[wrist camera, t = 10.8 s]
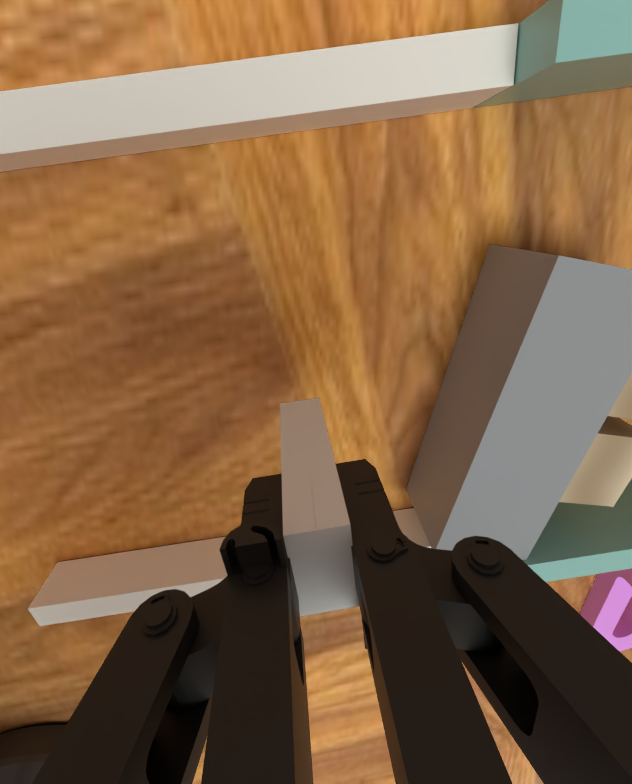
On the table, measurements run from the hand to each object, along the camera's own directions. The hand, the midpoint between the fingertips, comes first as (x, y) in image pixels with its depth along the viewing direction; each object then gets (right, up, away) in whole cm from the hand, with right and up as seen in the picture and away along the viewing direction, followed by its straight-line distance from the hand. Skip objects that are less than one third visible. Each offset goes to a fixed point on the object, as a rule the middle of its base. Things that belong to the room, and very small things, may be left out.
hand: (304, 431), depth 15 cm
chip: (+14, -1, +7) cm, 15 cm away
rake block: (+10, +2, +6) cm, 11 cm away
